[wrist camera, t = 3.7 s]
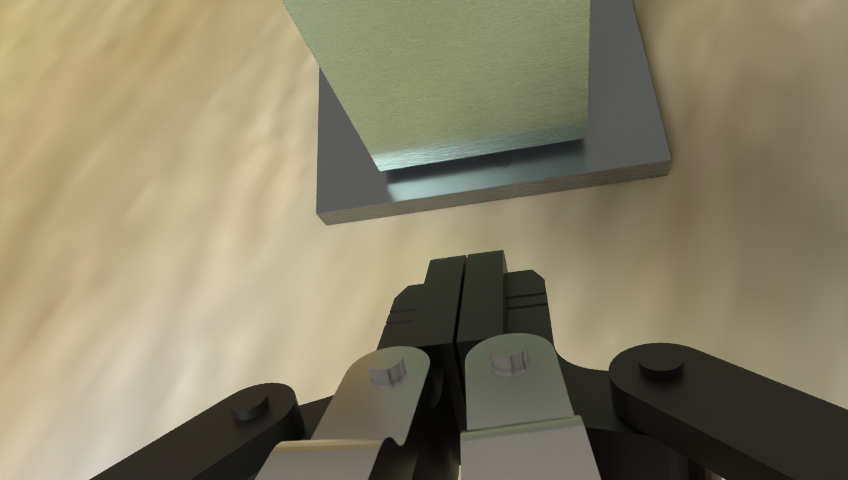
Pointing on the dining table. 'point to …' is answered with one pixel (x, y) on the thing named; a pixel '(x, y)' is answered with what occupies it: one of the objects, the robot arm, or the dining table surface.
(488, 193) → the bearing block
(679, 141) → the dining table surface
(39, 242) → the dining table surface
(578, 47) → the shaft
